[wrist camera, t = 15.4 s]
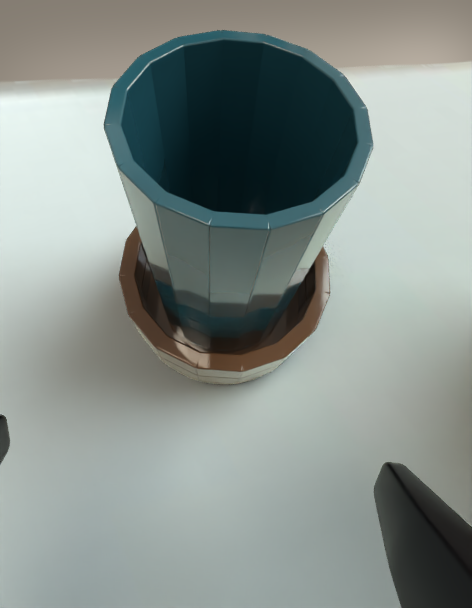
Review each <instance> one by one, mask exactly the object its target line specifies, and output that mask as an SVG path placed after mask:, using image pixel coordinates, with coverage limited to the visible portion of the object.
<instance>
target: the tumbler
mask: <svg viewBox="0 0 472 608" xmlns="http://www.w3.org/2000/svg"><path fill="white" fill-rule="evenodd" d="M104 130H105V133H106V136H107V139H108V142H109V145H110V148H111V151H112V154H113V157H114V160H115V163H116V166H117V169H118V172H119V175H120V178H121V181H122V184H123V187H124V190H125V193H126V196H127V199H128V202H129V205H130V208H131V211H132V214H133V217H134V220H135V223H136V226H137V229H138V232H139V235H140V238H141V241H142V244H143V247H144V250H145V253H146V256H147V259H148V262H149V265H150V267H151V270H152V273H153V276H154V279H155V282H156V285H157V288H158V291H159V294H160V297H161V300H162V303H163V306H164V309H165V312H166V315H167V318H168V320H169V322H170V323H171V325H172V326H173V328H174V329H175V330H176V331H177V333H178V334H179V335H180V336H182V337H183V338H184V339H185V340H186V341H188V342H189V343H191V344H193V345H195V346H196V347H199V348H201V349H204V350H208V351H212V352H220V353H228V352H236V351H240V350H244V349H247V348H249V347H251V346H254V345H255V344H257V343H258V342H260V341H261V340H263V339H264V338H265V337H266V336H267V335H268V334H269V333H270V332H271V331H272V329H273V328H274V327H275V326H276V325H277V324H278V322H279V320H280V318H281V317H282V315H283V313H284V312H285V310H286V308H287V306H288V305H289V303H290V301H291V300H292V298H293V296H294V295H295V293H296V291H297V289H298V288H299V286H300V284H301V283H302V281H303V279H304V277H305V276H306V274H307V272H308V271H309V269H310V267H311V266H312V264H313V262H314V260H315V259H316V257H317V255H318V254H319V252H320V250H321V248H322V247H323V245H324V243H325V242H326V240H327V238H328V237H329V235H330V233H331V231H332V230H333V228H334V226H335V225H336V223H337V221H338V219H339V218H340V216H341V214H342V213H343V211H344V209H345V208H346V206H347V204H348V202H349V201H350V199H351V197H352V196H353V194H354V192H355V191H356V189H357V187H358V185H359V184H360V181H361V179H362V176H363V173H364V171H365V168H366V165H367V163H368V160H369V158H370V155H371V152H372V150H373V140H372V134H371V128H370V121H369V115H368V109H367V107H366V105H365V104H364V103H363V101H362V100H361V98H360V97H359V95H358V94H357V92H356V91H355V90H354V88H353V87H352V85H351V84H350V82H349V81H348V80H347V78H346V77H345V76H344V75H343V74H342V73H341V72H340V71H338V70H337V69H335V68H334V67H333V66H331V65H330V64H328V63H327V62H326V61H324V60H323V59H321V58H320V57H319V56H317V55H316V54H314V53H313V52H312V51H310V50H308V49H306V48H303V47H301V46H298V45H295V44H292V43H289V42H286V41H284V40H281V39H278V38H276V37H273V36H270V35H266V34H258V33H248V32H237V31H227V30H221V31H220V30H217V31H212V32H206V33H199V34H193V35H187V36H182V37H178V38H174V39H172V40H170V41H168V42H166V43H164V44H162V45H160V46H158V47H156V48H154V49H152V50H150V51H148V52H146V53H145V54H143V55H140V56H139V57H138V58H137V59H136V60H135V61H134V62H133V63H132V64H131V66H130V67H129V68H128V69H127V70H126V71H125V72H124V74H123V75H122V76H121V77H120V78H119V79H118V80H117V82H116V83H115V84H114V85H113V87H112V89H111V93H110V98H109V102H108V107H107V112H106V116H105V121H104Z"/></svg>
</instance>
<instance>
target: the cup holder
mask: <svg viewBox="0 0 472 608" xmlns="http://www.w3.org/2000/svg"><path fill="white" fill-rule="evenodd" d="M119 281H120V285H121V289H122V293H123V297H124V301H125V305H126V308H127V312H128V315H129V317H130V319H131V320H132V322H133V323H134V325H135V327H136V328H137V330H138V331H139V333H140V334H141V336H142V337H143V339H144V340H145V341H146V342H147V343H148V345H149V346H150V347H151V348H152V350H153V351H154V353H155V354H156V355H157V356H158V357H159V358H160V359H161V360H162V362H163V363H164V364H166V365H167V366H169V367H170V368H172V369H173V370H175V371H177V372H178V373H180V374H182V375H184V376H186V377H188V378H191V379H193V380H197V381H200V382H204V383H210V384H217V385H230V384H238V383H244V382H247V381H251V380H254V379H257V378H259V377H261V376H264V375H266V374H267V373H270V372H272V371H274V370H275V369H276V368H277V367H278V366H279V365H280V364H282V363H283V362H284V361H285V360H286V359H287V358H288V357H289V356H290V355H291V354H292V353H293V352H294V351H295V350H297V349H298V348H299V347H300V346H301V344H302V343H303V342H304V341H305V340H306V339H307V338H308V337H309V336H310V335H311V334H312V333H313V332H314V331H315V329H316V328H317V326H318V323H319V321H320V318H321V316H322V313H323V311H324V308H325V306H326V304H327V301H328V299H329V296H330V281H329V261H328V255H327V253H326V251H325V249H324V247H322V248H321V250H320V252H319V254H318V255H317V257H316V259H315V260H314V262H313V264H312V266H311V267H310V269H309V271H308V272H307V274H306V276H305V277H304V279H303V281H302V283H301V284H300V286H299V288H298V289H297V291H296V293H295V295H294V296H293V298H292V300H291V301H290V303H289V305H288V306H287V308H286V310H285V312H284V313H283V315H282V317H281V318H280V320H279V322H278V324H277V325H276V326H275V327H274V328H273V329H272V331H271V332H270V333H269V334H268V335H267V336H266V337H265V338H264V339H263V340H261V341H260V342H258V343H257V344H255V345H254V346H251V347H249V348H247V349H244V350H240V351H236V352H228V353H220V352H212V351H208V350H204V349H201V348H199V347H196V346H195V345H193V344H191V343H189V342H188V341H186V340H185V339H184V338H183V337H182V336H180V335H179V334H178V333H177V331H176V330H175V329H174V328H173V326H172V325H171V323H170V322H169V320H168V318H167V315H166V312H165V309H164V306H163V303H162V300H161V297H160V294H159V291H158V288H157V285H156V282H155V279H154V276H153V273H152V270H151V267H150V265H149V262H148V259H147V256H146V253H145V250H144V247H143V244H142V241H141V238H140V235H139V232H138V229H137V226H136V227H135V228H134V230H133V231H132V233H131V234H130V235H129V237H128V238H127V240H126V242H125V247H124V252H123V257H122V262H121V267H120V272H119Z"/></svg>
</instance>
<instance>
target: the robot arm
mask: <svg viewBox="0 0 472 608" xmlns="http://www.w3.org/2000/svg"><path fill="white" fill-rule="evenodd" d="M9 445H10V438H9V432H8V425H7V419H6V417H5V416H4V415H1V414H0V464H1V462H2V461H3V459H4V457H5V455H6V454H7V452H8V449H9ZM374 498H375V503H376V507H377V512H378V517H379V522H380V527H381V531H382V536H383V541H384V546H385V550H386V555H387V559H388V564H389V568H390V571H391V575H392V578H393V581H394V585H395V588H396V591H397V594H398V598H399V601H400V604H401V607H402V608H472V527H471V526H470V525H469V524H468V523H467V522H465V521H464V520H463V519H462V518H461V517H460V516H459V515H458V514H457V513H456V512H455V511H454V510H452V509H451V508H450V507H449V506H448V505H447V504H446V503H445V502H444V501H443V500H442V499H440V498H439V497H438V496H437V495H436V494H435V493H434V492H433V491H432V490H431V489H430V488H429V487H427V486H426V485H425V484H424V483H423V482H422V481H421V480H420V479H419V478H418V477H417V476H416V475H414V474H413V473H412V472H411V471H410V470H409V469H408V468H407V467H406V466H404V465H403V464H400V463H392V462H386V463H384V464H383V466H382V468H381V471H380V473H379V475H378V478H377V480H376V483H375V486H374Z"/></svg>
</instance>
